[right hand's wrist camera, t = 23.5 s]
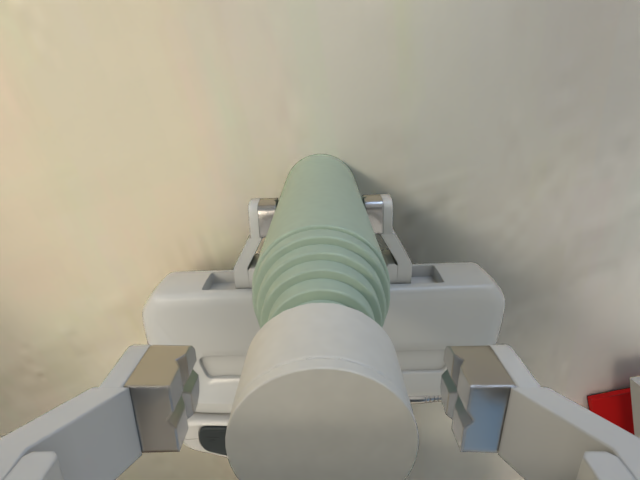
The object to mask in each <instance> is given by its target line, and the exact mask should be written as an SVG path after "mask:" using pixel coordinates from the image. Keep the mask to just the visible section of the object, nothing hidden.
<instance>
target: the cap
mask: <svg viewBox="0 0 640 480" xmlns="http://www.w3.org/2000/svg"><path fill="white" fill-rule="evenodd" d="M225 447H226V452H227V457H228V460H229V463H230V465H231V468H232V469H233V471H234V473H235V475H236V476H237V478H238V479H239V480H405V479H406V477H407V476H408V475H409V473H410V471H411V469H412V467H413V465H414V463H415V460H416V457H417V452H418V447H419V435H418V429H417V424H416V421H415V417H414V414H413V410H412V407H411V403H410V400H409V396H408V393H407V389H406V386H405V382H404V379H403V375H402V372H401V368H400V365H399V361H398V358H397V354H396V351H395V348H394V345H393V343H392V341H391V339H390V337H389V336H388V335H387V333H386V332H385V331H384V329H383V328H382V327H381V326H380V325H379V324H378V323H376V322H375V321H374V320H373V319H371V318H370V317H368V316H367V315H365V314H364V313H362V312H360V311H359V310H355V309H353V308H350V307H347V306H343V305H340V304H335V303H310V304H309V303H308V304H304V305H300V306H297V307H293V308H290V309H287V310H285V311H283V312H281V313H280V314H278V315H277V316H275V317H273V318H272V319H271V320H269V321H268V322H267V323H265V325H263V327H262V328H261V329H260V330H259V331H258V332H257V334H256V335H255V337H254V338H253V340H252V342H251V344H250V346H249V349H248V352H247V355H246V359H245V362H244V366H243V370H242V373H241V377H240V381H239V384H238V388H237V392H236V395H235V399H234V403H233V406H232V410H231V414H230V418H229V421H228V425H227V429H226V436H225Z"/></svg>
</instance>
